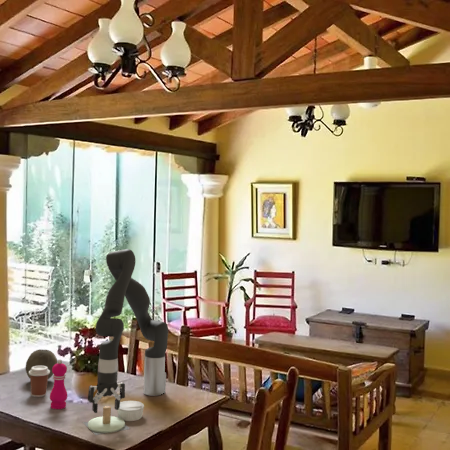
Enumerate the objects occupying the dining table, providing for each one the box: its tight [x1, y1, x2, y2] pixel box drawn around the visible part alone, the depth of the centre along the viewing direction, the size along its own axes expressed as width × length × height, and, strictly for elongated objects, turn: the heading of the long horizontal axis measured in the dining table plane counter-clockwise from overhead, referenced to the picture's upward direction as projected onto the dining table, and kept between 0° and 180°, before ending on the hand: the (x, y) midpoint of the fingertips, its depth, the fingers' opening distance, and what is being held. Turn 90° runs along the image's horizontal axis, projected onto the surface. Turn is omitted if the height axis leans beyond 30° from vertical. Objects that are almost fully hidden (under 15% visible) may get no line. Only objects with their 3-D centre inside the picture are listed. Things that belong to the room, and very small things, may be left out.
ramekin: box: [116, 400, 145, 422], centre depth 245 cm, size 11×11×5 cm
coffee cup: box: [29, 366, 50, 398], centre depth 268 cm, size 9×9×12 cm
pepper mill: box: [49, 359, 68, 410], centre depth 253 cm, size 7×7×20 cm
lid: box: [87, 405, 126, 434], centre depth 234 cm, size 14×14×7 cm
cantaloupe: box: [25, 349, 58, 380], centre depth 286 cm, size 14×14×15 cm
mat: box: [82, 421, 131, 436], centre depth 234 cm, size 14×14×1 cm
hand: (105, 410), depth 234 cm, fingers open, 8 cm apart
